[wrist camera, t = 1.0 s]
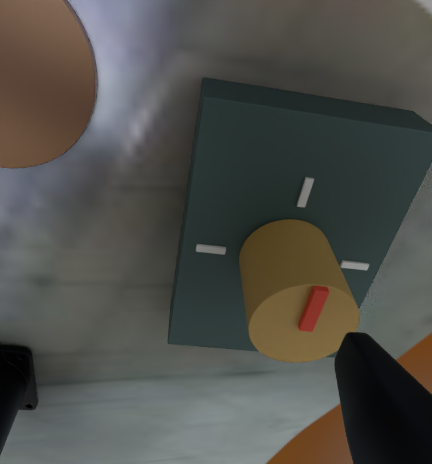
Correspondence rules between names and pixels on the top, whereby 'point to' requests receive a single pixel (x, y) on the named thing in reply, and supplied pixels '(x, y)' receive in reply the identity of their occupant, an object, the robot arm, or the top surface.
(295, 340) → the tap knob
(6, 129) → the coaster
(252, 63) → the top surface
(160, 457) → the top surface
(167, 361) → the top surface
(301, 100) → the green dial base
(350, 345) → the robot arm
